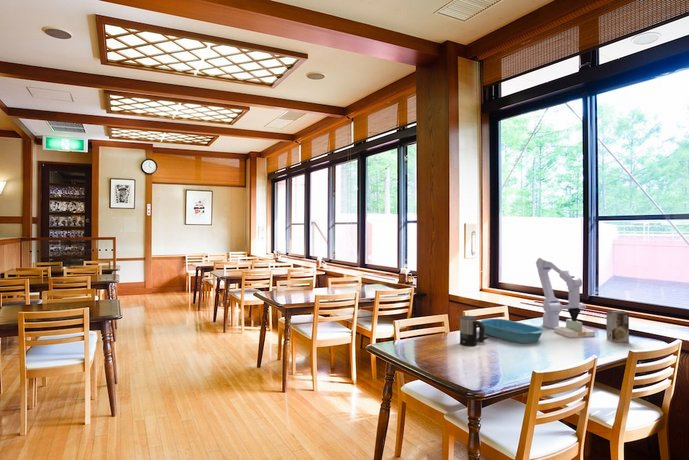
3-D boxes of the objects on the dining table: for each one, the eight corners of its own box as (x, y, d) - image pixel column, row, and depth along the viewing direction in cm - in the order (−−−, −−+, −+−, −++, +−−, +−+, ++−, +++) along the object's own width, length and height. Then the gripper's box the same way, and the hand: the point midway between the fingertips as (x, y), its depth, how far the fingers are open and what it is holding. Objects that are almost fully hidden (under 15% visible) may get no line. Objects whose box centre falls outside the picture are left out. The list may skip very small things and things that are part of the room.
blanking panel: (566, 330, 259) (566, 319, 259) (570, 330, 260) (570, 318, 260) (577, 334, 250) (577, 322, 249) (582, 334, 250) (582, 322, 250)
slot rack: (553, 331, 260) (553, 326, 260) (578, 330, 263) (578, 325, 263) (569, 337, 247) (569, 332, 246) (595, 336, 249) (595, 331, 249)
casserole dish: (551, 341, 240) (551, 328, 240) (527, 347, 228) (527, 334, 228) (495, 328, 271) (495, 316, 271) (471, 333, 258) (471, 321, 258)
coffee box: (622, 339, 243) (623, 310, 243) (629, 342, 237) (629, 313, 236) (605, 338, 244) (606, 310, 244) (611, 341, 238) (612, 312, 237)
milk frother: (457, 345, 232) (457, 317, 232) (463, 338, 246) (464, 312, 246) (484, 348, 226) (484, 320, 225) (489, 341, 239) (489, 314, 239)
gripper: (567, 299, 249) (567, 323, 250) (589, 298, 252) (589, 321, 252) (559, 297, 256) (559, 320, 257) (581, 296, 259) (581, 319, 259)
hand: (574, 321), depth 255 cm, fingers closed, pressing on blanking panel
